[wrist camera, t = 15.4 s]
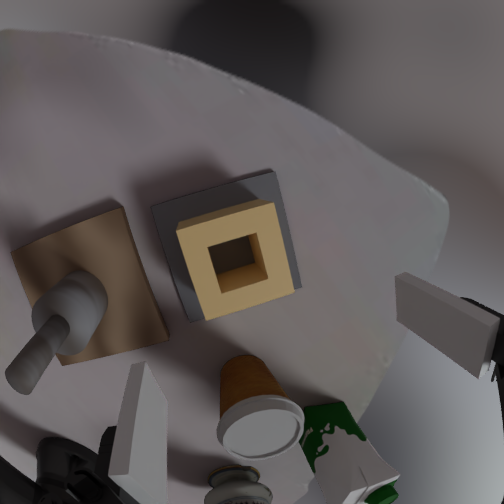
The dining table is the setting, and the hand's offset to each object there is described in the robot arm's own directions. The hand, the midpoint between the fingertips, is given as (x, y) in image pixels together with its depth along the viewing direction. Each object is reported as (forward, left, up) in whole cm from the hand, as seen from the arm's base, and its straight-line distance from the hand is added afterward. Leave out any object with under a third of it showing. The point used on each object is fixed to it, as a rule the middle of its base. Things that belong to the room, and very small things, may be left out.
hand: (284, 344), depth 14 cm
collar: (0, 0, -20) cm, 20 cm away
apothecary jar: (-12, -42, -21) cm, 48 cm away
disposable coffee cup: (-3, -17, -21) cm, 27 cm away
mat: (0, 0, -21) cm, 21 cm away
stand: (-18, 0, -21) cm, 27 cm away
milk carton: (+6, -32, -21) cm, 39 cm away
